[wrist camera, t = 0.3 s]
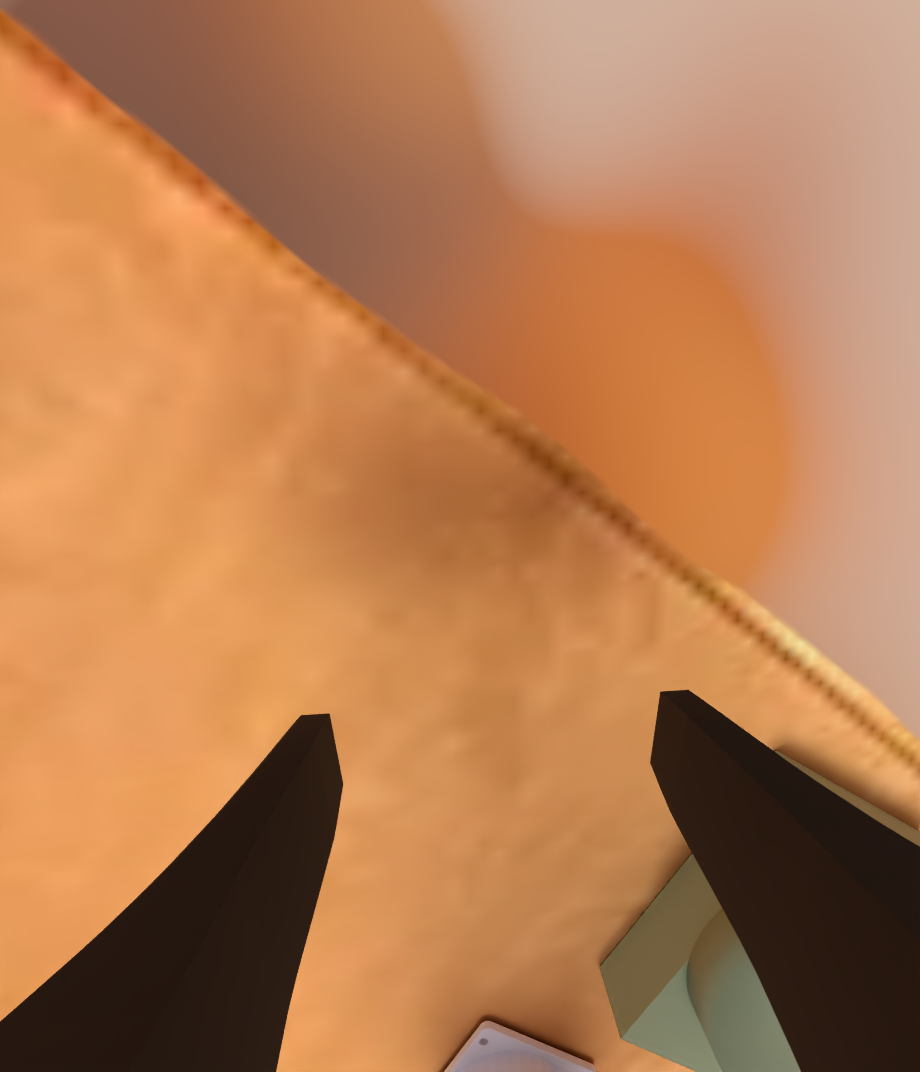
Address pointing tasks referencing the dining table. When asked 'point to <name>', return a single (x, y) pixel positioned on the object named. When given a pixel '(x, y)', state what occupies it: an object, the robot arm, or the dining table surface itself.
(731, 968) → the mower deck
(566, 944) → the dining table surface
